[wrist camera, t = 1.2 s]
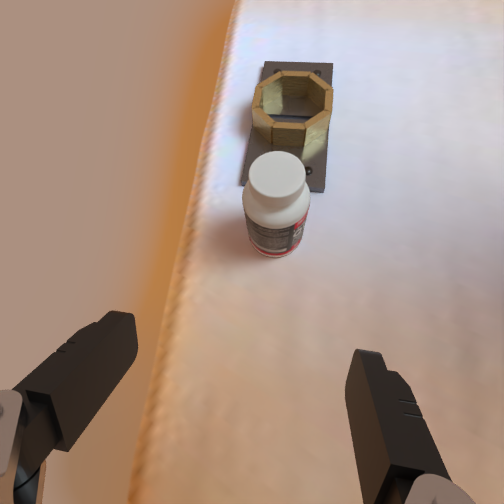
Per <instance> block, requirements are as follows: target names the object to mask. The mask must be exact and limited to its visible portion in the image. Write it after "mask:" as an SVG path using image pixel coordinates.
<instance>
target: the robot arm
mask: <svg viewBox="0 0 504 504" xmlns="http://www.w3.org/2000/svg"><path fill="white" fill-rule="evenodd" d="M137 352H138V340H137V333H136V325H135V318H134V315H133V314H131V313H125V312H120V311H110V312H108V313H107V314H106V315H105V316H104V317H103V318H102V319H101V320H100V321H98V322H93V323H92V324H89V325H88V326H86V327H84V328H82V329H80V330H79V331H77V332H76V333H75V334H74V335H73V336H72V337H71V338H69V339H68V340H67V342H66V343H64V344H63V345H62V346H60V347H59V348H58V349H57V351H56V352H54V353H52V354H51V355H50V356H49V357H48V358H47V359H46V360H45V361H43V363H41V364H40V365H39V366H38V367H37V368H36V369H34V370H33V371H32V372H31V373H30V374H29V375H28V376H27V377H25V378H24V379H23V380H22V381H21V382H20V383H19V384H17V385H16V386H15V387H14V388H13V389H12V390H1V391H0V504H42V498H43V489H44V480H45V472H46V461H45V459H46V458H47V456H48V455H49V454H50V452H51V451H52V450H53V449H56V450H61V451H65V452H69V450H70V449H71V448H72V446H73V445H74V444H75V442H76V441H77V439H78V438H79V437H80V435H81V434H82V432H83V431H84V430H85V428H86V427H87V426H88V424H89V423H90V421H91V420H92V419H93V417H94V416H95V414H96V413H97V412H98V410H99V409H100V408H101V406H102V405H103V404H104V402H105V401H106V400H107V398H108V397H109V395H110V394H111V393H112V391H113V390H114V388H115V387H116V386H117V384H118V383H119V382H120V380H121V379H122V378H123V376H124V375H125V373H126V372H127V371H128V369H129V368H130V367H131V365H132V364H133V362H134V360H135V358H136V356H137ZM345 401H346V407H347V412H348V418H349V424H350V429H351V435H352V441H353V447H354V452H355V458H356V464H357V469H358V475H359V481H360V486H361V492H362V498H363V503H364V504H476V503H475V502H474V501H473V500H472V499H471V498H470V496H469V495H468V494H467V493H466V492H465V491H463V490H462V489H461V488H460V487H459V486H457V485H456V484H454V483H453V482H452V480H451V478H450V476H449V474H448V472H447V470H446V468H445V465H444V463H443V461H442V458H441V456H440V454H439V452H438V449H437V447H436V445H435V443H434V440H433V438H432V436H431V434H430V431H429V429H428V427H427V424H426V422H425V420H424V419H423V418H422V416H423V415H422V413H421V411H420V409H419V406H418V405H417V404H416V403H417V402H416V400H415V397H414V395H413V393H412V391H411V388H410V386H409V385H408V384H407V383H406V382H405V380H404V379H403V378H402V377H401V376H400V375H399V374H398V372H395V371H389V370H387V368H386V365H385V362H384V360H383V357H382V355H381V353H379V352H373V351H367V350H360V349H356V350H355V352H354V354H353V358H352V362H351V365H350V369H349V373H348V376H347V380H346V386H345Z"/></svg>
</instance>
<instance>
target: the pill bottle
mask: <svg viewBox="0 0 504 504" xmlns="http://www.w3.org/2000/svg"><path fill="white" fill-rule="evenodd" d="M305 177H306V172H305V168H304V165H303V164H302V162H301V161H300V160H299V159H298V158H297V157H296V156H294V155H292V154H290V153H287V152H283V151H273V152H268V153H265V154H263V155H261V156H259V157H258V158H257V159H256V160H255V161H254V162H253V163H252V165H251V167H250V169H249V175H248V178H249V180H248V181H247V183H246V185H245V187H244V189H243V194H242V201H243V208H244V212H245V217H246V223H247V228H248V234H249V238H250V241H251V243H252V245H253V247H254V248H255V249H256V250H257V251H258V252H260V253H261V254H263V255H265V256H269V257H282V256H286V255H288V254H290V253H291V252H293V251H294V250H295V249H296V248H297V247H298V245H299V243H300V241H301V239H302V235H303V230H304V226H305V222H306V217H307V213H308V210H309V205H310V191H309V188H308V185H307V183H306V182H305Z"/></svg>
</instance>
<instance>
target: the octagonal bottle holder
mask: <svg viewBox="0 0 504 504" xmlns="http://www.w3.org/2000/svg"><path fill="white" fill-rule="evenodd" d="M332 73H333V63H309V62H274V61H265V63H264V68H263V73H262V78H261V83H259V84H257V86H256V88H255V93H254V98H253V103H252V107H251V108H252V119H253V124H252V129H251V134H250V140H249V145H248V150H247V155H246V160H245V165H244V170H243V175H242V180H241V182H242V186H245V185H246V183H247V181H248V180H249V178H248V175H249V169H250V167H251V165H252V163H253V162H254V161H255V160H256V159H257V158H258V157H259V156H261V155H263V154H265V153H268V152H273V151H283V152H287V153H290V154H292V155H294V156H296V157H297V158H298V159H299V160H300V161H301V162H302V164H303V165H304V168H305V172H306V177H305V182H306V183H307V185H308V188H309V191H311V192H324V189H325V177H326V162H327V147H328V132H329V122H330V118H331V114H332V104H333V89H332Z"/></svg>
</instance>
